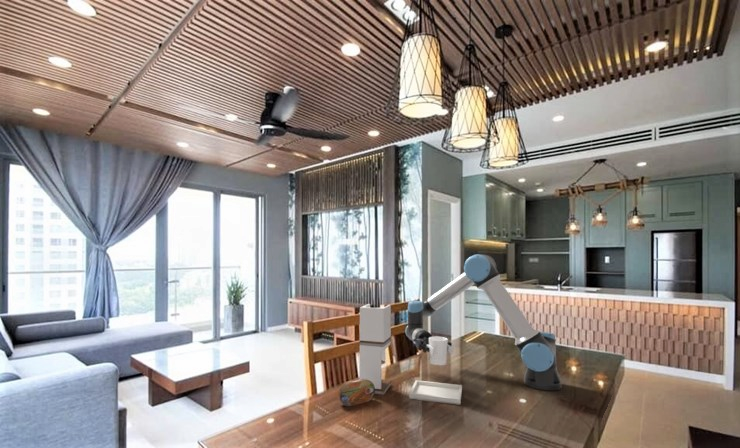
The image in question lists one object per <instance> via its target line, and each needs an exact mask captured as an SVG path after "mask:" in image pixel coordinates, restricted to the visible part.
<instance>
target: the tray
mask: <svg viewBox="0 0 740 448" xmlns="http://www.w3.org/2000/svg"><path fill="white" fill-rule="evenodd" d="M462 394H463V385H462V384H456V383H454V384H453V383H446V382H445V383H444V382H437V381H426V380H425V381H424V380H416V379H415V381H414V383H413V384H412V387H411V389H410V391H409V393H408V398H409V400H418V401H425V402H434V403H442V404H449V405H450V404H451V405H459V406H460V405H461V403H462V401H461V400H462Z"/></svg>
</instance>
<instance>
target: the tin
mask: <svg viewBox="0 0 740 448" xmlns="http://www.w3.org/2000/svg"><path fill="white" fill-rule="evenodd" d="M374 395H375V387H374V384H373V383H372V382H371V381H369V380H367V379H361V380H359V379H357V380H352V381H346V382H344V383H343V384H342V385H341V386H340V387H339V389H338V394H337V397H338V400H339V401H340V403H341V404H342V405H344V406H346V407H351V406H355V405H360V404H365V403H368V402H370V401H371V400H372V399H373V397H374Z"/></svg>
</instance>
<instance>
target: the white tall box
mask: <svg viewBox="0 0 740 448" xmlns="http://www.w3.org/2000/svg"><path fill="white" fill-rule="evenodd" d="M391 308H392V307H391V304H388V305H385V306H383V307H371V304H370V303H367V304H365V305H364V304H363V306H360V307H359V362H358V363H359V366H358V367H359V378H358V380H361V379H367V380H369V381H371V382H372V383H373V384H374V387H375V393H374V395H375V394H376V395H382V396H384V394H386V392H387V391H388V390H389V388H390V387H391V386H392V382H391V380H390V379H383V378H382V365H384V364H386V349H387V348H388V347H389V346H390V345H391V344H392V334H391V333H392V331H391V329H392V325H391V324H392V321H391V319H392V315H391V313H392V309H391Z"/></svg>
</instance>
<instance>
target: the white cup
mask: <svg viewBox="0 0 740 448" xmlns="http://www.w3.org/2000/svg"><path fill="white" fill-rule="evenodd" d="M448 342H449V339H448V338H447V337H443V336H437V335H436V336H432V337H429V345H430V346H431V347H433V348H434V355H431V354H430V353H429V352H428V354H429V363H430V364H431V365H434V366H444V365H445V366H446V364H447V358H448V352H447V344H448Z"/></svg>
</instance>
